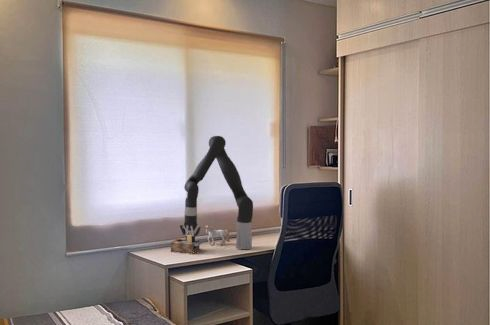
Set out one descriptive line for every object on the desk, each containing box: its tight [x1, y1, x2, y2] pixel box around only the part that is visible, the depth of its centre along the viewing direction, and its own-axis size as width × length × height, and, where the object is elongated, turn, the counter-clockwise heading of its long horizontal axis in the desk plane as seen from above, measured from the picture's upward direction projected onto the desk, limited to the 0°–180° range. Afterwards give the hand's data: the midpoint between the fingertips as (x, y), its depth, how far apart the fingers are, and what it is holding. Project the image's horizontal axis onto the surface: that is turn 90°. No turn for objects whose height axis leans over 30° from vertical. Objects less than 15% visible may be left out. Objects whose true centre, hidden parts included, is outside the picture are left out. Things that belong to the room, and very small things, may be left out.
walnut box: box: [170, 237, 201, 254], centre depth 306 cm, size 14×12×6 cm
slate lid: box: [182, 233, 203, 246], centre depth 305 cm, size 12×8×6 cm
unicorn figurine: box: [203, 224, 231, 246], centre depth 322 cm, size 7×20×13 cm, turn 119°
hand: (190, 241), depth 305 cm, fingers closed on slate lid, 3 cm apart
